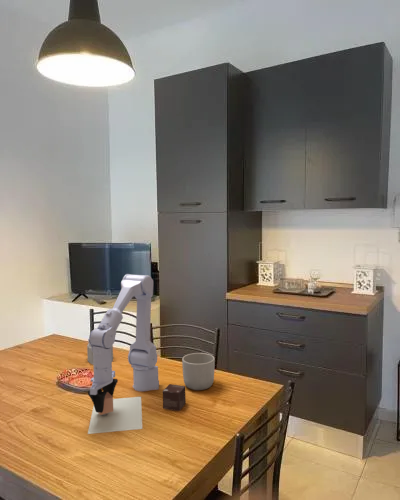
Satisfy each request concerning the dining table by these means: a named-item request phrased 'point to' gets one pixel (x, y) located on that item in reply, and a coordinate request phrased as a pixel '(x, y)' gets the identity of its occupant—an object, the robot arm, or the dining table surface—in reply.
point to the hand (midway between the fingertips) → (104, 406)
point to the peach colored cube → (107, 404)
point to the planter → (198, 370)
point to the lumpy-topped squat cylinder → (90, 354)
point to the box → (174, 397)
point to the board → (118, 417)
